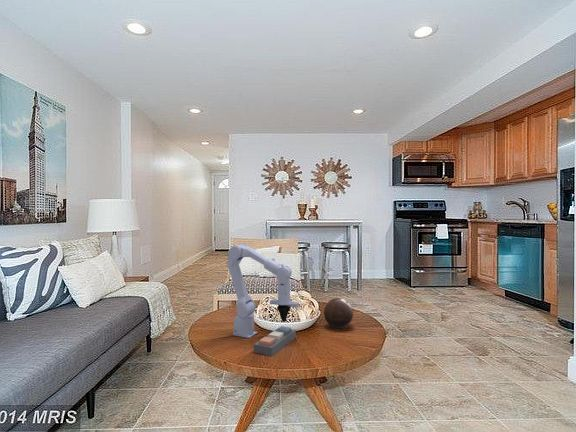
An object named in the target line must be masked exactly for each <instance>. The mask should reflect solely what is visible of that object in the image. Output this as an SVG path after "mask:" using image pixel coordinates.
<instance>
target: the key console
mask: <svg viewBox="0 0 576 432" xmlns="http://www.w3.org/2000/svg"><path fill="white" fill-rule="evenodd" d="M274 331H277V329H275V330H274ZM265 337H268V334H267V335H266V336H265ZM296 338H297V331H296V329H291V332H289V333H288V334H283V337H282V338H281V339H280V340H276V339H275V343H274V344H273V345H271V346H265V345H260V344H259V340H258V341H257V342H255V343H253V354H254V353H255V354H260V355H264V356H269V357H272V356H274V355H276V354H277V353H278V352H279V351H280V350H282V349H283V348H285V347H286V346H288V344H290V343H291V342H292V341H294V340H295V339H296Z"/></svg>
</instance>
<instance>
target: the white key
mask: <svg viewBox="0 0 576 432" xmlns="http://www.w3.org/2000/svg"><path fill="white" fill-rule="evenodd" d="M267 335H268V337H270V338H275V339H276V340H280V339H281V338H282V337H283V333H282V332H277V331H275V330H273V331H272V332H270V333H268V334H267Z"/></svg>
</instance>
